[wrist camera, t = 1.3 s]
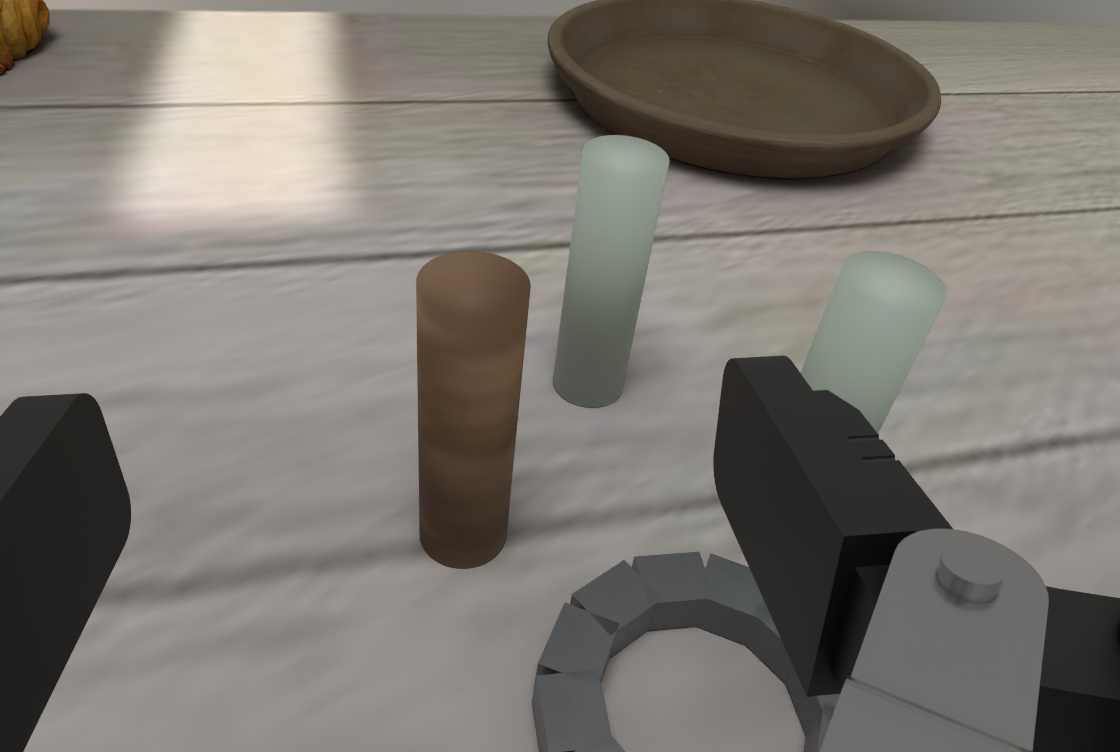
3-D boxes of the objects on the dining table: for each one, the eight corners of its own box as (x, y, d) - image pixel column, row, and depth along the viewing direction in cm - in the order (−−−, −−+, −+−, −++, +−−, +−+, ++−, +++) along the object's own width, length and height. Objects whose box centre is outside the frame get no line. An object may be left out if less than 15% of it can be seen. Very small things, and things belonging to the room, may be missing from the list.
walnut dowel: (402, 523, 33) (394, 271, 25) (474, 486, 34) (487, 240, 27) (451, 583, 31) (458, 331, 23) (523, 541, 33) (553, 293, 25)
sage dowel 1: (538, 376, 40) (565, 146, 32) (591, 352, 42) (628, 128, 34) (584, 417, 38) (623, 183, 30) (637, 390, 40) (687, 163, 32)
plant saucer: (503, 36, 75) (506, -17, 72) (800, 36, 84) (814, -12, 81) (618, 213, 53) (629, 147, 50) (1003, 188, 62) (1032, 130, 59)
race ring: (469, 687, 28) (471, 659, 27) (693, 536, 34) (702, 508, 32) (707, 1003, 22) (723, 986, 21) (929, 754, 28) (951, 729, 27)
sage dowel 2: (734, 503, 35) (821, 269, 27) (784, 470, 37) (879, 241, 29) (797, 557, 33) (910, 322, 26) (846, 519, 35) (966, 289, 27)
